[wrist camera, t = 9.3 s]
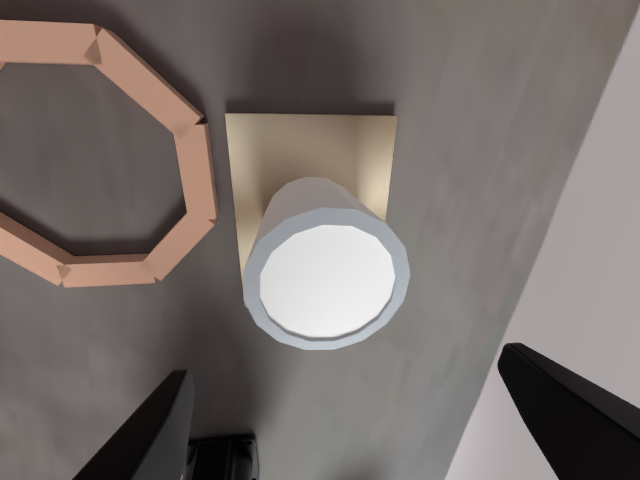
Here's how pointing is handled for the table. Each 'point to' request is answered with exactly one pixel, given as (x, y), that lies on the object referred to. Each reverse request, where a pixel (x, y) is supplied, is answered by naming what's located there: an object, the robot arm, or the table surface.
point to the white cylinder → (323, 268)
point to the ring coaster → (161, 102)
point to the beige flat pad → (305, 161)
